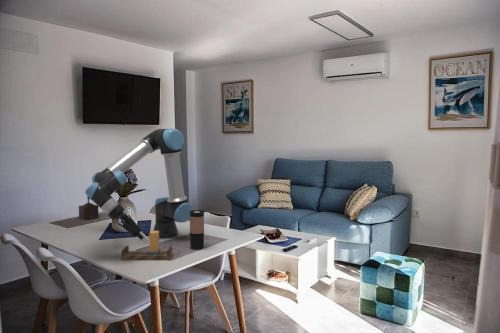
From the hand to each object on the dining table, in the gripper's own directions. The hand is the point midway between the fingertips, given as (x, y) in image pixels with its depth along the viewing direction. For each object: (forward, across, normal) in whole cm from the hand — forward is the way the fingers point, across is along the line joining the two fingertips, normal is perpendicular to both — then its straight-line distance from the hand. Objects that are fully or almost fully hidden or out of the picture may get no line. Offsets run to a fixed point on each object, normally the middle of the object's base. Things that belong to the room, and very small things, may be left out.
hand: (148, 242), depth 179 cm
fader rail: (+5, 0, -6) cm, 8 cm away
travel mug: (+21, -16, +10) cm, 29 cm away
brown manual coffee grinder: (-38, -91, -49) cm, 110 cm away
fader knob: (+6, 0, -2) cm, 6 cm away
